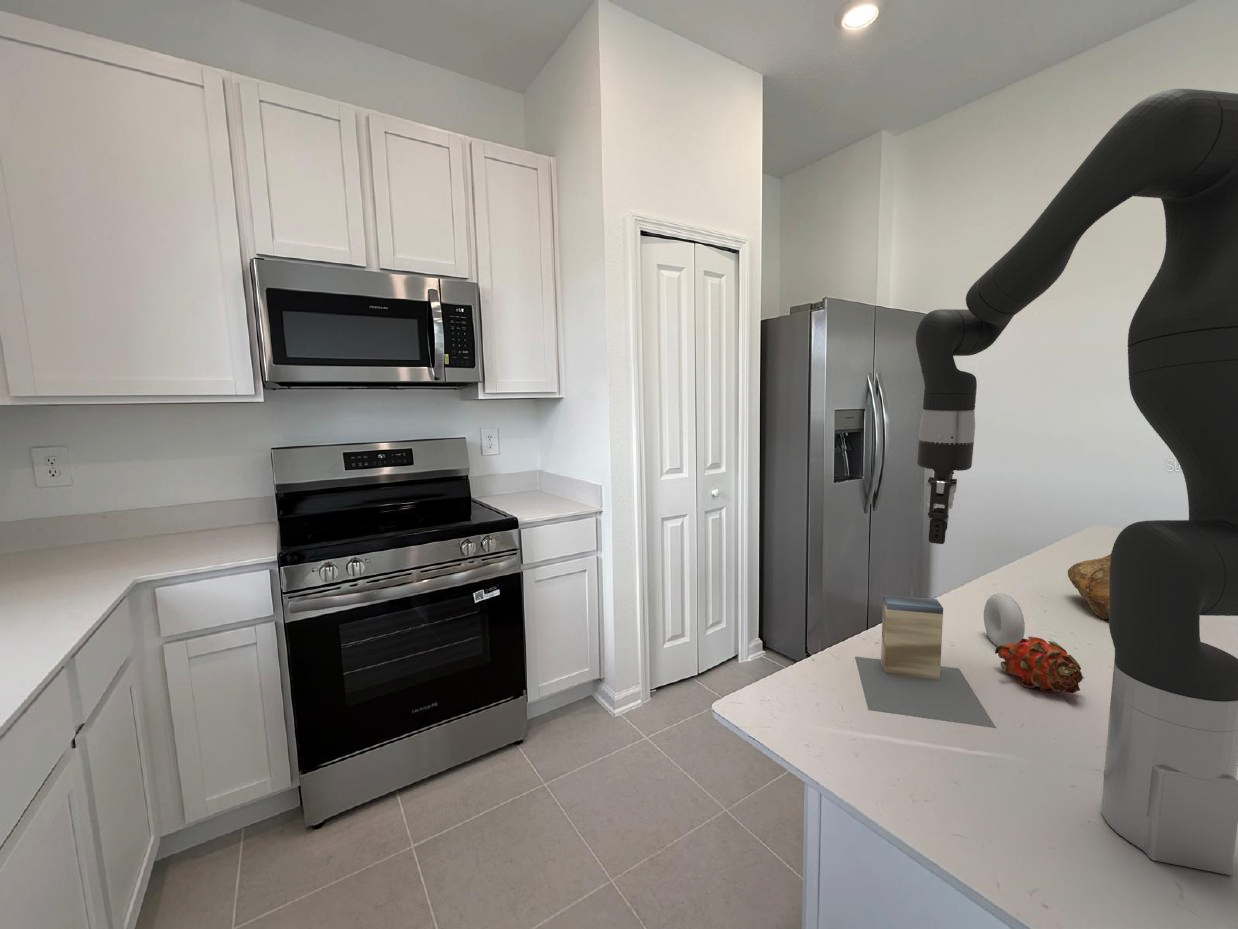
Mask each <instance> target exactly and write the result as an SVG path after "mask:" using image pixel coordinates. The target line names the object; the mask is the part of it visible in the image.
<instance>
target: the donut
mask: <svg viewBox="0 0 1238 929" xmlns="http://www.w3.org/2000/svg"><path fill="white" fill-rule="evenodd" d="M983 623H984V628H985V632H986V634H987V636H988V639H989V640H990V641H991V642H992V643H993V645H995V646H996V647H997V648H998V647H999V646H1001V645H1007V644H1010V643H1015V644H1016V643H1019V642H1020V641H1021V639H1023V638H1024V639H1025V633H1026V631H1025V628H1026V627H1025V626H1026V625H1025V617H1024V614H1023V611H1022V608H1021V607H1020V605H1019V603H1018V602H1017V601H1016V600H1015V598H1013V596H1011V595H1008V594H1006V593H1003V592H1000V593H999V592H997V593H994V594H992V595H991V596H989V598H988V599H987V600H986V602H985V605H984V609H983Z"/></svg>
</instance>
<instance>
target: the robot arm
mask: <svg viewBox="0 0 1238 929" xmlns="http://www.w3.org/2000/svg"><path fill="white" fill-rule="evenodd" d="M1132 197H1140V198H1149V199H1150V198H1152V199H1160V200H1161V202H1162V206H1163V212H1164V218H1165V251H1164V255H1163V260H1162V261H1161V264H1160V267H1159V269H1158V271H1157V272H1156V275H1155V277H1154V279H1152V282H1151V284H1150V286H1149V287H1148V289H1147V290H1146V291H1145V294H1144V295H1143V297H1142V299H1141V301H1140V302H1139V304H1138V306H1137V308H1136V310H1135V312H1134V314H1133V316H1132V319H1131V321H1130V325H1129V327H1128V332H1127V333H1128V334H1127V362H1128V364H1127V366H1128V369H1127V370H1128V382H1129V390H1130V394H1131V397H1132V399H1133V401H1134V404H1135V406H1136V407H1137V409H1138V410H1139V412H1140V413H1141V415H1142V416H1143V417H1144V419H1145V420H1146V421H1147V423H1148V424H1149V425H1150V426H1151V428H1152V429H1153V430H1154V432H1155V433H1156V434H1157V435H1158V436H1159V437H1160V439H1161V440H1162V441H1163V442H1164V443H1165V445H1166V446H1167V448H1168V449H1169V451H1171V453H1172V454H1173V455H1174V457H1175V459H1176V462H1177V463H1178V465H1179V466H1180V469H1181V471H1182V474H1183V477H1184V482H1185V487H1186V494H1187V503H1188V519H1173V520H1172V519H1169V520H1168V519H1166V520H1164V519H1162V520H1161V519H1159V520H1157V519H1156V520H1143V521H1137V522H1134V523H1133V522H1132V523H1130V524H1128V525H1127V526H1125V527H1124V528H1123V529H1122V530H1121V531H1120V533H1118V535H1117V537H1116V539H1115V540H1114V543H1113V545H1112V546H1113V547H1112V550H1111V553H1110V554H1111V559H1110V586H1109V619H1108V628H1109V632H1110V636H1111V641H1112V643H1113V648H1114V662H1113V672H1112V683H1111V691H1110V704H1109V715H1108V726H1107V735H1106V736H1107V739H1106V747H1105V760H1104V769H1103V770H1104V771H1103V784H1102V795H1101V797H1102V798H1101V808H1100V812H1101V814H1102V817H1103V819H1104V821H1105V822H1106V823H1107V824H1108V825H1109V827H1111V829H1112V830H1114V831H1115V832H1116V833H1117V834H1118V835H1120V836H1121V837H1122V838H1124V839H1125V840H1127V841H1128V842H1130V843H1131V844H1132V845H1134V846H1136V847H1137V848H1139V849H1141V851H1143V852H1144V853H1145V854H1146V855H1147V856H1148V858H1150V859H1151V860H1153V861H1155V862H1161V863H1166V864H1171V865H1176V866H1182V867H1187V868H1192V869H1198V870H1203V871H1208V872H1211V873H1212V872H1213V873H1218V874H1223V875H1229V876H1231V874H1232V873H1233V868H1234V860H1235V851H1236V841H1237V835H1238V834H1237V833H1238V779H1237V776H1238V658H1237V657H1236V656H1234V655H1233V654H1231V653H1229V652H1227V651H1226V650H1223V649H1221V648H1218V647H1216V646H1214V645H1211V644H1208V643H1206V642H1203V641H1201V633H1200V632H1201V630H1200V619H1201V617H1200V616H1205V617H1206V616H1211V617H1213V616H1214V617H1215V616H1216V617H1217V616H1219V617H1224V616H1225V617H1237V616H1238V93H1234V92H1227V91H1218V90H1208V89H1207V90H1205V89H1192V88H1173V89H1167V90H1162V91H1159V92H1156V93H1154V94H1152V95H1149V96H1148V97H1146V98H1144V99H1142V100H1140V101H1139V102H1138V103H1136V104H1135V105H1134V106H1132V108H1131V109H1129V110H1128V111H1127V112H1126V113H1125V114H1123V116H1122V117H1120V118H1119V119H1118V121H1116V123H1115V124H1114V125H1112V127H1111V128H1110V129H1109V130H1108V131H1107V132H1106V134H1104V136H1103V137H1102V138H1101V140H1100V141H1099V142H1098V143H1097V144H1096V145H1095V147H1093V149H1092V150H1091V152H1090V153H1089V154H1088V156H1087V157H1086V158H1085V159H1084V160H1083V161H1082V163H1081V164H1080V165H1079V166H1078V168H1077V169H1076V170H1075V172H1073V174H1072V175H1071V176H1070V177H1069V179H1068V180H1067V181H1066V182H1065V184H1064V185H1063V186H1062V187H1061V189H1060V190H1059V192H1058V193H1057V194H1056V195H1055V196H1054V198H1052V200H1051V201H1050V203H1049V204H1048V205H1047V207H1046V208H1045V209H1044V210H1043V212H1041V214H1040V215H1039V216H1038V218H1037V219H1036V220H1035V222H1034V223H1033V224H1032V225H1031V226H1030V227H1029V229H1028V230H1026V232H1025V234H1024V235H1022V237H1021V238H1020V239H1019V240H1018V241H1017V242H1016V243H1015V244H1014V245H1013V246H1012V247H1011V248H1010V249H1009V250H1008V251H1007V252H1006V253H1005V254H1004V255H1003V256H1002V257H1001V258H999V259H998V260H997V261H996V262H995V263H994V264H993V265H992V266H991V267H990V268H989V269H988V270H987V271H986V272H984V274H982V275H981V276H980V277H979V278H978V279H977V280H976V281H975V282H974V283H973V284H972V286H970V287H969V289H968V290H967V293H966V296H965V303H966V304H965V305H966V307H967V308H966V309H957V308H956V309H954V308H953V309H949V308H947V309H944V308H942V309H941V308H940V309H935V310H932V311H930V312H928V313H927V314H926V315H924V317H923V318H922V319H921V320H920V322H919V324H918V326H917V329H916V334H915V346H916V352H917V355H918V360H919V365H920V369H921V374H922V377H923V383H924V391H923V392H924V393H923V403H922V412H921V413H922V414H921V418H920V422H919V433H918V434H919V435H918V446H917V458H916V459H917V462H916V464H917V465H918V467H920V468H923V469H927V470H932V471H933V476H929V477H928V479H927V483H926V484H927V485H926V486H927V487H926V488H927V491H928V492H927V500H926V501H927V504H926V505H927V507H928V508H929V509H928V512H927V516H928V518H929V527H928V528H929V530H928V542H929V543H931V544H937V545H943V544H945V541H946V531H948V526H949V524H948V523H949V522H948V521H949V518H950V516H949V512H950V509H953V507H954V505H953V504H954V500H955V493H957V492H956V491H957V484H958V478H953V476H954V475H955V471H957V472H962V471H963V472H964V471H968V470H970V469H971V468H972V466H973V456H974V455H973V454H974V444H975V433H976V415H975V414H976V413H975V409H976V400H977V398H976V397H977V389H978V388H977V386H978V385H977V384H978V383H977V382H978V381H977V378H976V377H977V376H975V374H973V373H971V372H968V371H963V370H960V369H958V366H957V364H956V361H955V358H954V357H967V356H974V355H977V354H979V353H982V352H983V351H985V350H987V349H989V347H991V346H992V345H994V343H995V342H996V341H997V339H998V338H999V336H1000V335H1001V334H1002V333H1003V332H1004V330H1005V329H1006V328H1007V327H1008V325H1009V324H1010V322H1011V321H1012V319H1013V318H1014V316H1015V315H1017V314H1018V313H1019V312H1021V311H1022V310H1023V309H1025V308H1026V307H1027V306H1028V305H1030V304H1031V303H1032V302H1034V301H1035V300H1036V299H1037V298H1039V297H1041V295H1044V293H1045V292H1046V291H1047V290H1048V289H1050V287H1051V286H1052V285H1054V283H1055V282H1056V281H1057V280H1058V279H1059V278H1060V277H1061V275H1062V274H1063V273H1064V271H1065V269H1066V268H1067V265H1068V264H1069V261H1070V259H1071V257H1072V255H1073V252H1074V250H1075V248H1076V246H1077V244H1078V243H1079V241H1080V239H1081V238H1082V237H1083V235H1084V234H1085V233H1086V232H1087V231H1088V230H1089V229H1090V228H1091V227H1092V226H1093V225H1094V224H1095V223H1096V222H1097V221H1099V220H1100V219H1102V218H1103V217H1104V216H1105V215H1107V214H1108V213H1109V212H1111V211H1112V210H1114V209H1115V208H1117V207H1118V206H1119V205H1121V204H1123V203H1124V202H1126V201H1128V200H1129V199H1131V198H1132Z"/></svg>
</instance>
